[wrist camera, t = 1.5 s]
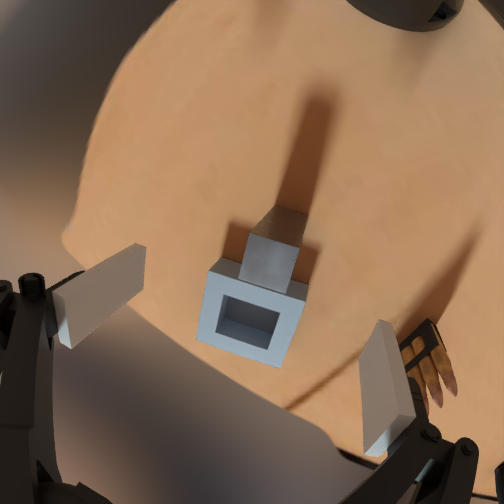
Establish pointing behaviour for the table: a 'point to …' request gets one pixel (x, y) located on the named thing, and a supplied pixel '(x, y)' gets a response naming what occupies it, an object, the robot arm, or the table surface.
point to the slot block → (249, 315)
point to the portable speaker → (500, 484)
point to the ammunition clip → (428, 362)
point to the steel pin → (273, 249)
